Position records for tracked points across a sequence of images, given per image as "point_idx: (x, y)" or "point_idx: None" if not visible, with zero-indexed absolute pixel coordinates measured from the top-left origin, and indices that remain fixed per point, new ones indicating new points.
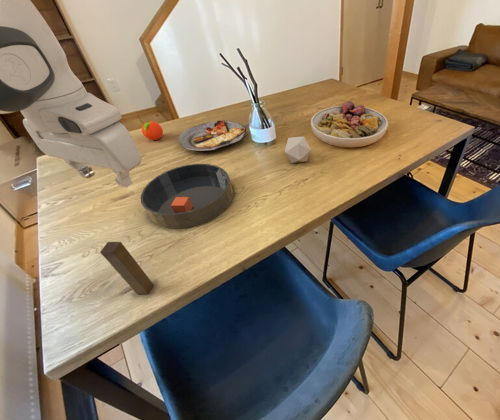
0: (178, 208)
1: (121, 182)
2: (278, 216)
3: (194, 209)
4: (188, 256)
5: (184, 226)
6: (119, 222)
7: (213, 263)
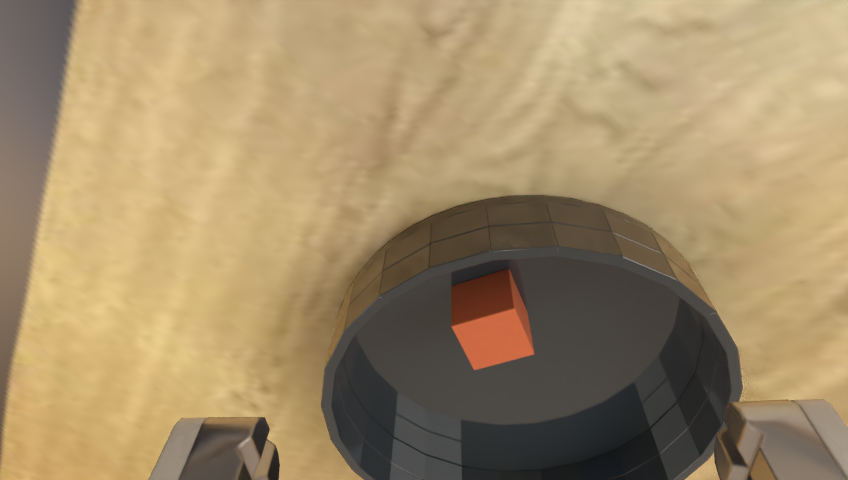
0: (482, 303)
1: (152, 474)
2: (121, 380)
3: (363, 323)
4: (263, 100)
5: (415, 229)
6: (778, 142)
7: (129, 111)
